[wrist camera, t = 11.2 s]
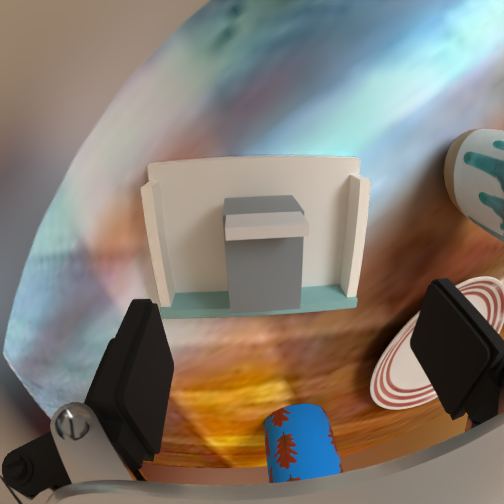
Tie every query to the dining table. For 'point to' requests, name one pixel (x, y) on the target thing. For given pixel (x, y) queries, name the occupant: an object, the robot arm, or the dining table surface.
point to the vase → (478, 178)
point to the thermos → (300, 444)
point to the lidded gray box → (264, 252)
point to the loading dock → (212, 234)
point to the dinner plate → (405, 362)
